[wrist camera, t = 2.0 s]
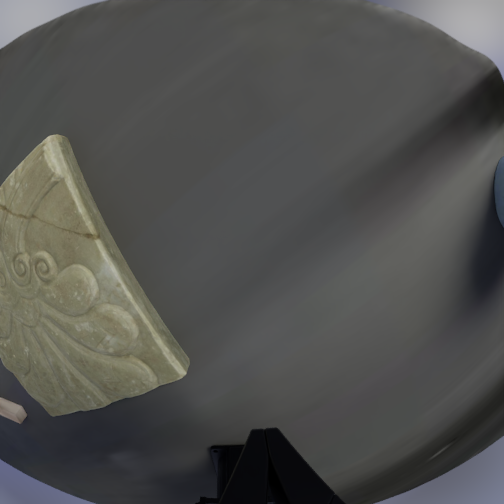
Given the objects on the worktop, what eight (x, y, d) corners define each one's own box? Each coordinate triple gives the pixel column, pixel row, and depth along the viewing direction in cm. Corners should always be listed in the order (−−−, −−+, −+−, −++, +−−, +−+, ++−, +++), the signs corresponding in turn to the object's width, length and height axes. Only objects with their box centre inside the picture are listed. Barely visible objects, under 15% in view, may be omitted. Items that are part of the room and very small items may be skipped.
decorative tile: (71, 134, 16) (45, 126, 13) (195, 357, 21) (189, 384, 17) (-32, 248, 17) (-53, 255, 14) (62, 405, 21) (49, 424, 18)
